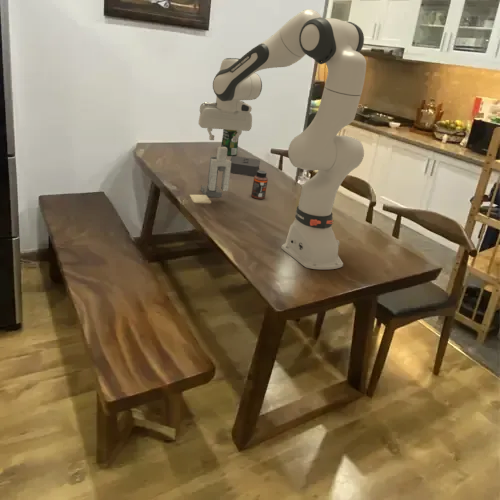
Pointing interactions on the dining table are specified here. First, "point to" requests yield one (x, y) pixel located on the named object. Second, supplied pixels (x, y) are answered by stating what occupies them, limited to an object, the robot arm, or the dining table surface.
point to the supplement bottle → (259, 185)
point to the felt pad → (200, 199)
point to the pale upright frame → (226, 173)
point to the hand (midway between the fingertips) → (223, 140)
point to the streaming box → (244, 165)
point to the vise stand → (217, 191)
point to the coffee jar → (230, 142)
